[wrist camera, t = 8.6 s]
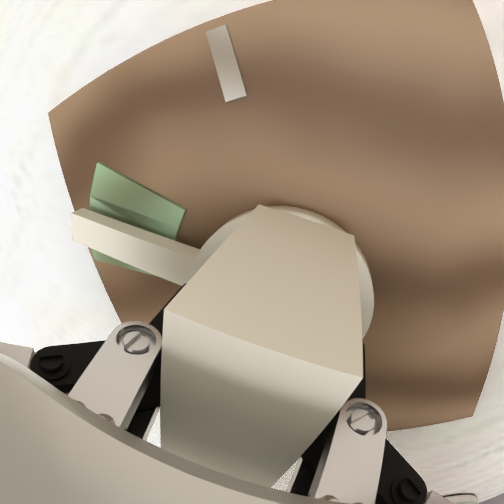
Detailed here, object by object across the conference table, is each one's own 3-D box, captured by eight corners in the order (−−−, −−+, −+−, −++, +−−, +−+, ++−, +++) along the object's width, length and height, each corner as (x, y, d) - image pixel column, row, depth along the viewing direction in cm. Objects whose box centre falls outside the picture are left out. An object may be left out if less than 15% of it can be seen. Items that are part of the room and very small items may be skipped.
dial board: (468, 402, 14) (472, 418, 13) (187, 412, 21) (179, 426, 20) (456, -6, 7) (466, -17, 5) (63, 111, 13) (45, 113, 12)
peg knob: (401, 242, 10) (456, 398, 4) (332, 375, 13) (310, 514, 7) (86, 150, 12) (-49, 194, 6) (86, 279, 15) (-5, 353, 9)
